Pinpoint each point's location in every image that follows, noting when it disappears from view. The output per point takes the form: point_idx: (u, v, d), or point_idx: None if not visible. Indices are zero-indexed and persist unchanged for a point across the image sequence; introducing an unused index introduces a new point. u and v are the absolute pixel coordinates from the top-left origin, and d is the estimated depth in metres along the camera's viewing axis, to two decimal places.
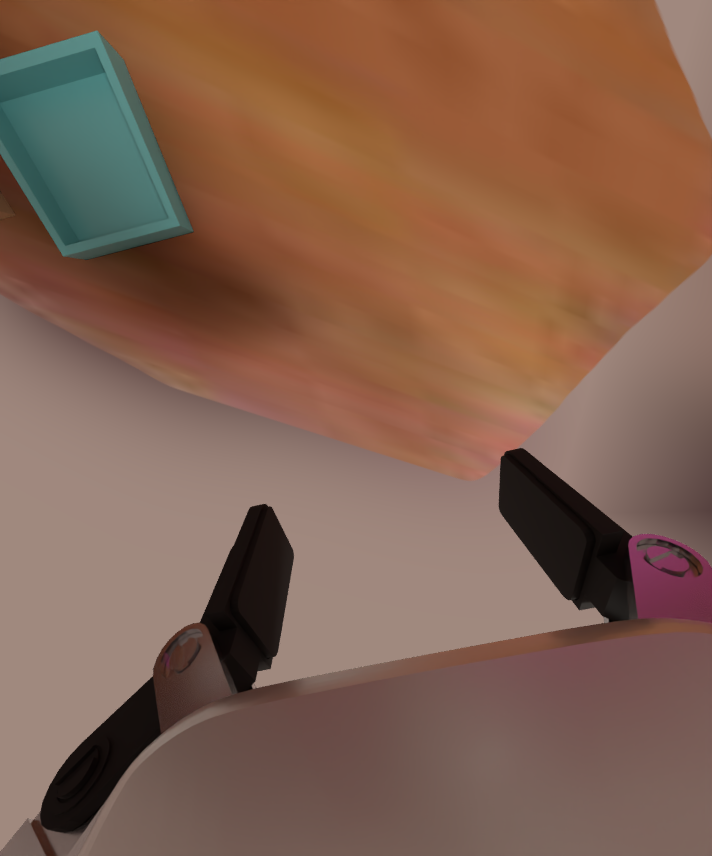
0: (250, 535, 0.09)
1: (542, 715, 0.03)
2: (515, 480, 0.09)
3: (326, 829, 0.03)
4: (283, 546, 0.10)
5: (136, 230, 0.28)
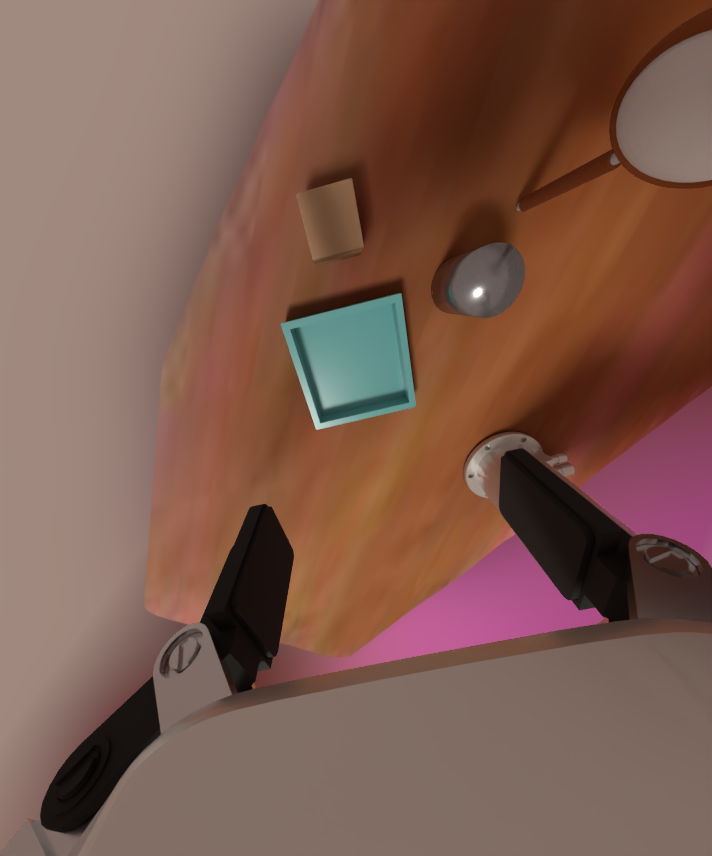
0: (250, 535, 0.09)
1: (543, 714, 0.03)
2: (515, 480, 0.09)
3: (326, 829, 0.03)
4: (283, 546, 0.10)
5: (309, 396, 0.33)
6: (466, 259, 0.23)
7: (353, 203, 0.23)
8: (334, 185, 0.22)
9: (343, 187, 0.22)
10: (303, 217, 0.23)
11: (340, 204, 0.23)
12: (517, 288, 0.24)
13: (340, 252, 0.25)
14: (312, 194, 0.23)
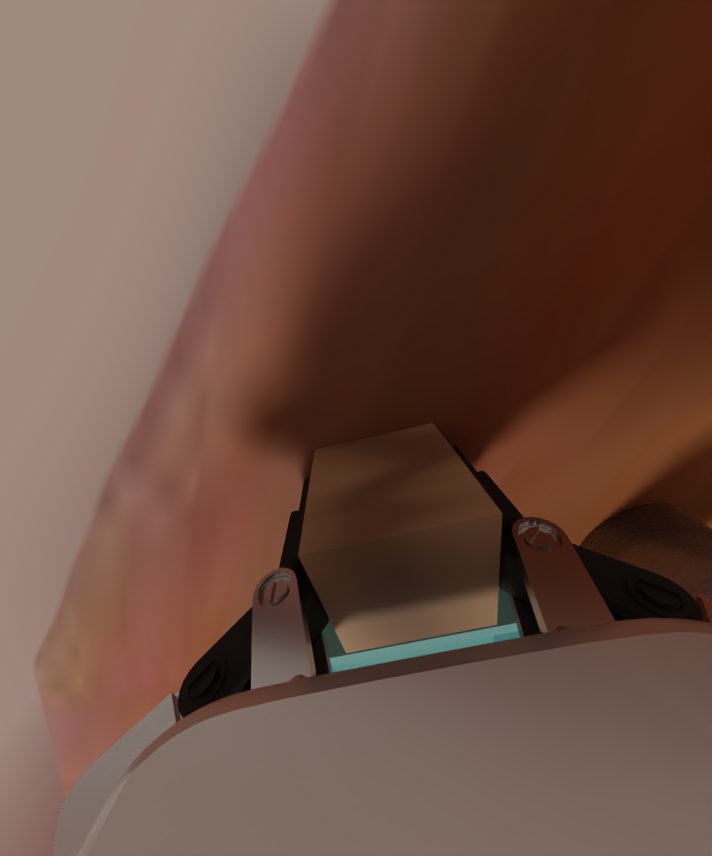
0: None
1: (542, 715, 0.03)
2: None
3: (326, 829, 0.03)
4: None
5: None
6: None
7: (490, 561, 0.07)
8: (436, 532, 0.06)
9: (467, 533, 0.06)
10: (323, 594, 0.07)
11: (449, 565, 0.07)
12: None
13: (426, 633, 0.09)
14: (356, 553, 0.06)
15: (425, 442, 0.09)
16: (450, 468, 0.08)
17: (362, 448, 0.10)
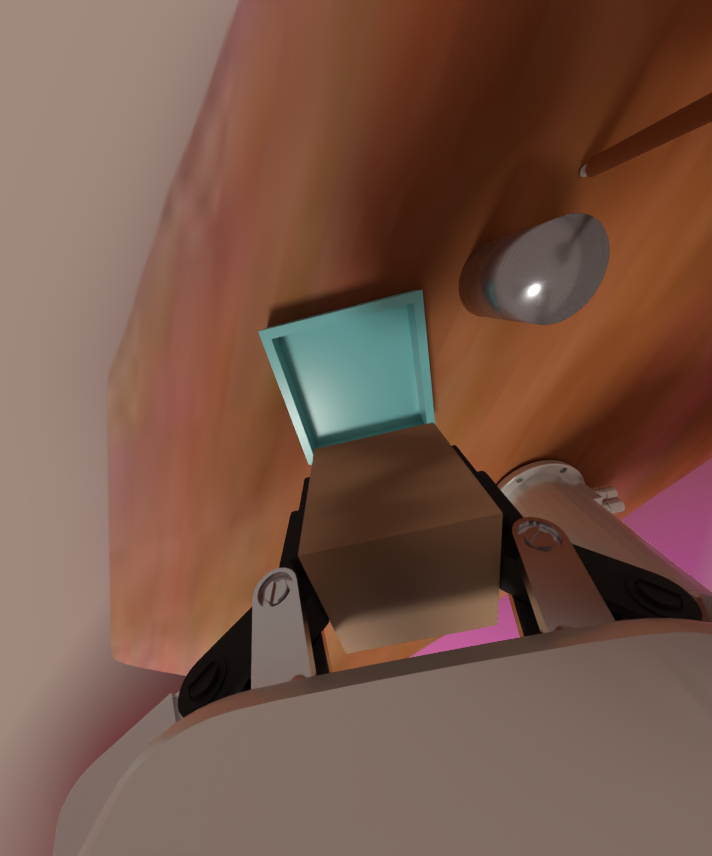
0: None
1: (542, 715, 0.03)
2: None
3: (326, 829, 0.03)
4: None
5: (299, 425, 0.25)
6: (524, 240, 0.16)
7: (490, 561, 0.07)
8: (436, 532, 0.06)
9: (467, 534, 0.06)
10: (322, 595, 0.07)
11: (449, 566, 0.07)
12: (595, 282, 0.17)
13: (426, 633, 0.09)
14: (356, 553, 0.06)
15: (425, 442, 0.09)
16: (450, 468, 0.08)
17: (362, 448, 0.10)
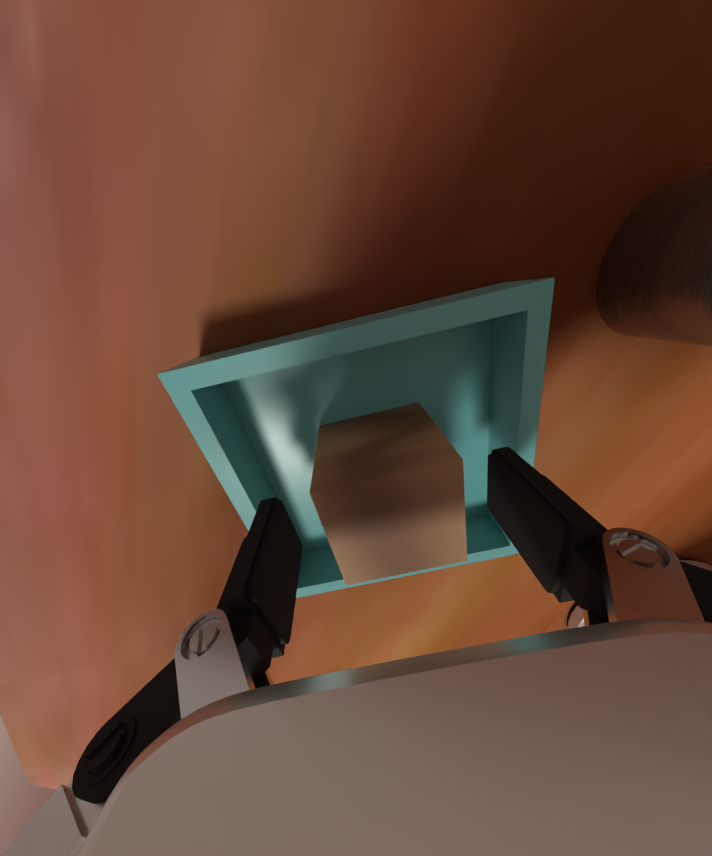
0: (263, 527, 0.09)
1: (543, 715, 0.03)
2: (500, 477, 0.09)
3: (326, 829, 0.03)
4: (293, 539, 0.11)
5: None
6: None
7: (457, 501, 0.09)
8: (414, 475, 0.08)
9: (437, 476, 0.08)
10: (328, 529, 0.09)
11: (425, 505, 0.09)
12: None
13: None
14: (354, 492, 0.09)
15: (411, 416, 0.11)
16: (428, 433, 0.10)
17: (359, 423, 0.12)
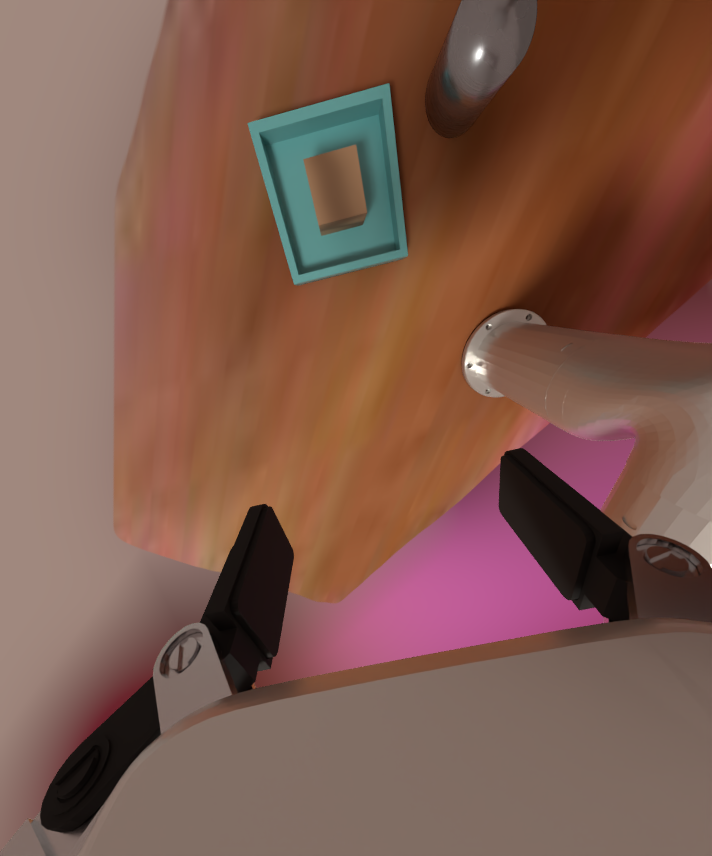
0: (250, 535, 0.09)
1: (544, 715, 0.03)
2: (515, 480, 0.09)
3: (326, 829, 0.03)
4: (283, 546, 0.10)
5: (285, 235, 0.28)
6: None
7: (357, 169, 0.24)
8: (339, 151, 0.24)
9: (348, 153, 0.24)
10: (310, 182, 0.25)
11: (345, 170, 0.24)
12: (527, 36, 0.20)
13: (344, 218, 0.26)
14: (318, 160, 0.24)
15: None
16: None
17: None
